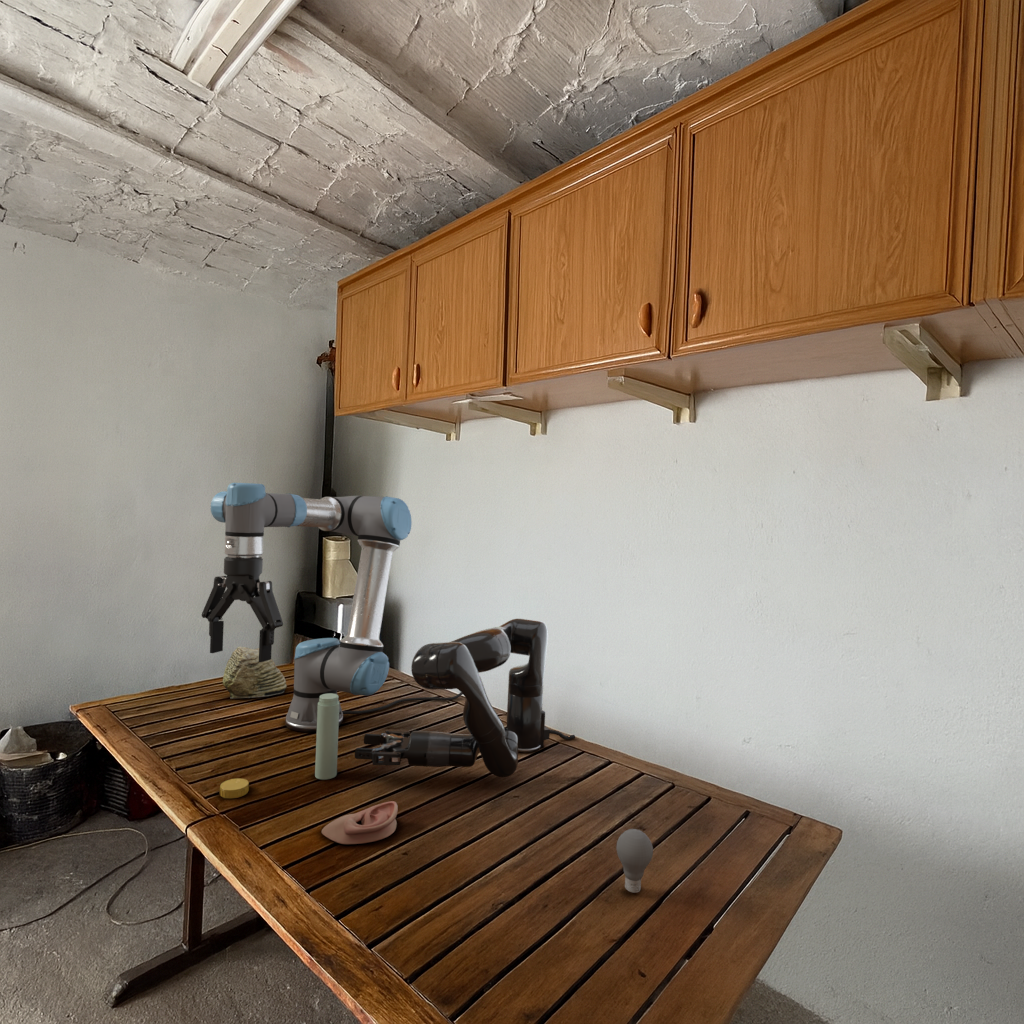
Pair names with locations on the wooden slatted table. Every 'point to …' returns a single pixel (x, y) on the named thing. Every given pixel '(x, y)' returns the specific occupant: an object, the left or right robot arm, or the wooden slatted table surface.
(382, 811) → the anatomical model
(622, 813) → the wooden slatted table surface
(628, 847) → the light bulb
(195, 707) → the wooden slatted table surface
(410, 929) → the wooden slatted table surface
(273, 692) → the fossil
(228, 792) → the lid
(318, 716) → the jar
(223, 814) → the wooden slatted table surface
